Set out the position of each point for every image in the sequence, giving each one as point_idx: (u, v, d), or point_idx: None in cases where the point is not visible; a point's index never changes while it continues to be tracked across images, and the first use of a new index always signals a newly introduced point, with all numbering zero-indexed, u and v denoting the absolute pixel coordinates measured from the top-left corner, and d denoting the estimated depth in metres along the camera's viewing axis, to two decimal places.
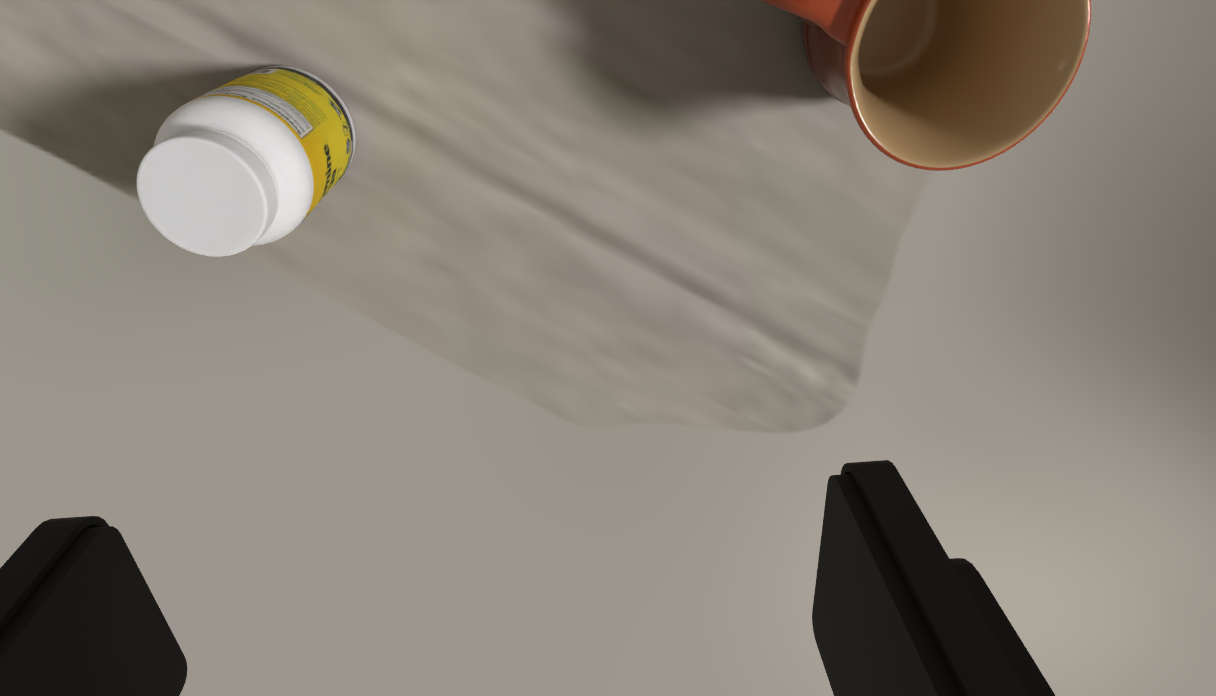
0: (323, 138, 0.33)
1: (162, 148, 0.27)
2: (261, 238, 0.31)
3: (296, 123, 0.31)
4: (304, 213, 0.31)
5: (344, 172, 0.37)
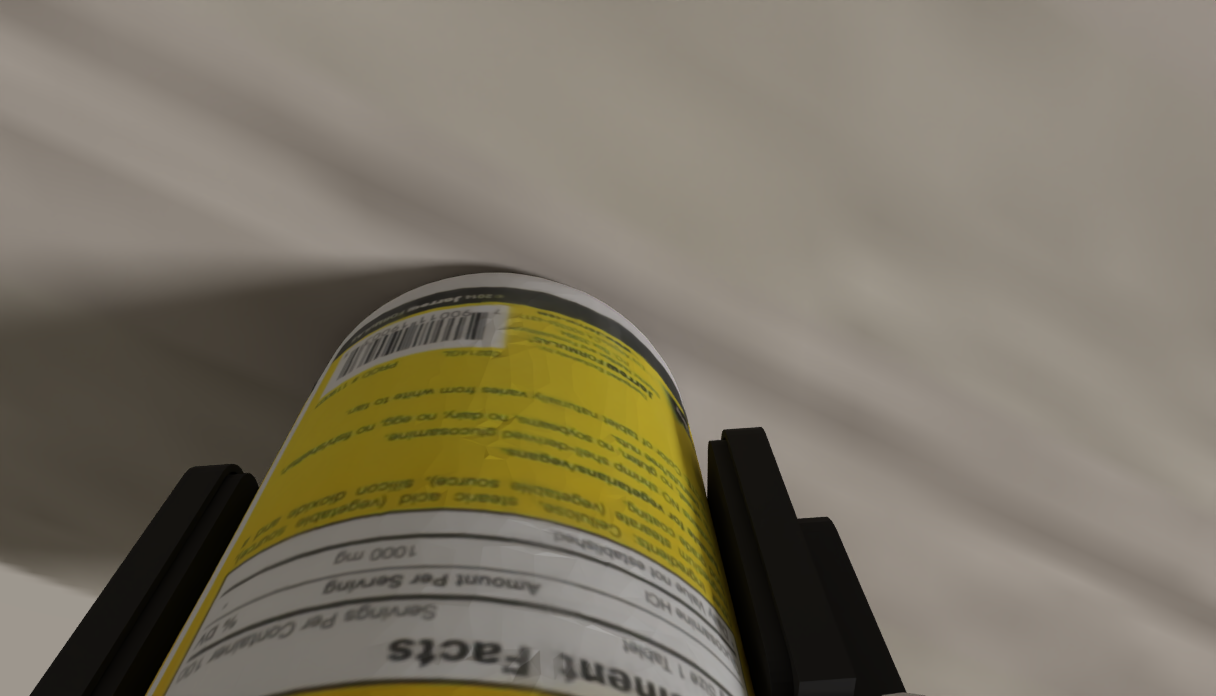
0: (740, 636, 0.08)
1: None
2: None
3: None
4: None
5: None
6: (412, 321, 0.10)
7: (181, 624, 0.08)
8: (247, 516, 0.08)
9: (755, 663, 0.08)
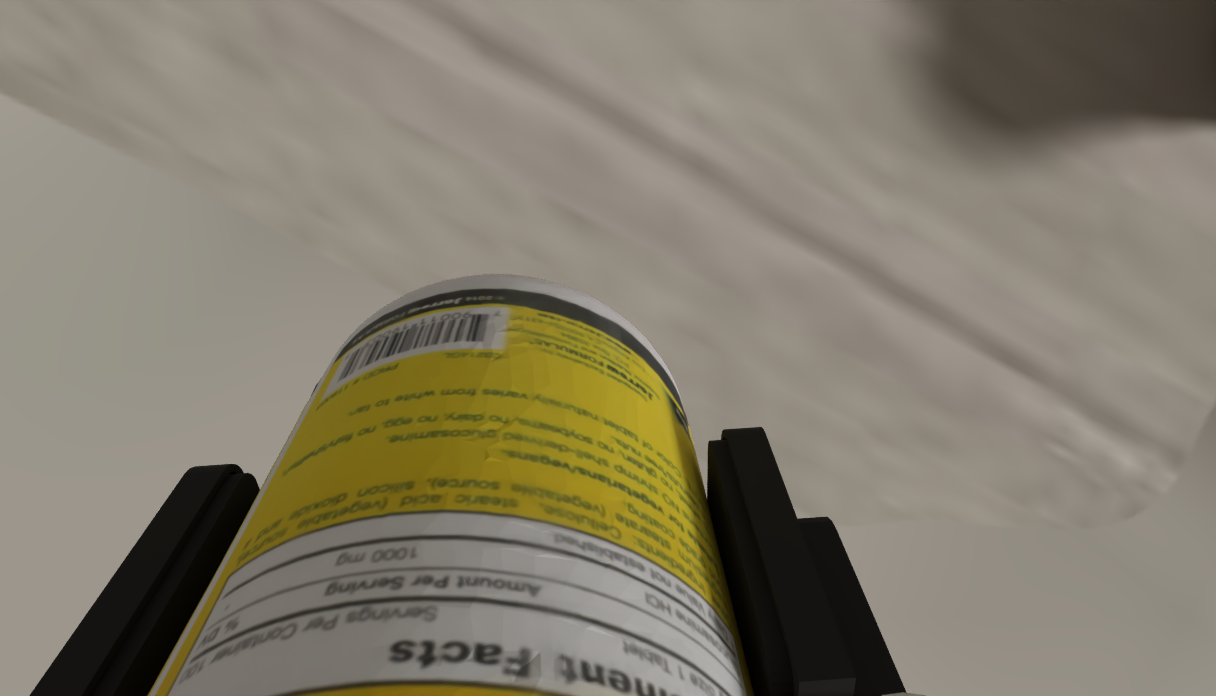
0: None
1: None
2: None
3: None
4: None
5: None
6: (413, 323, 0.10)
7: (181, 624, 0.08)
8: (249, 517, 0.08)
9: (755, 663, 0.08)
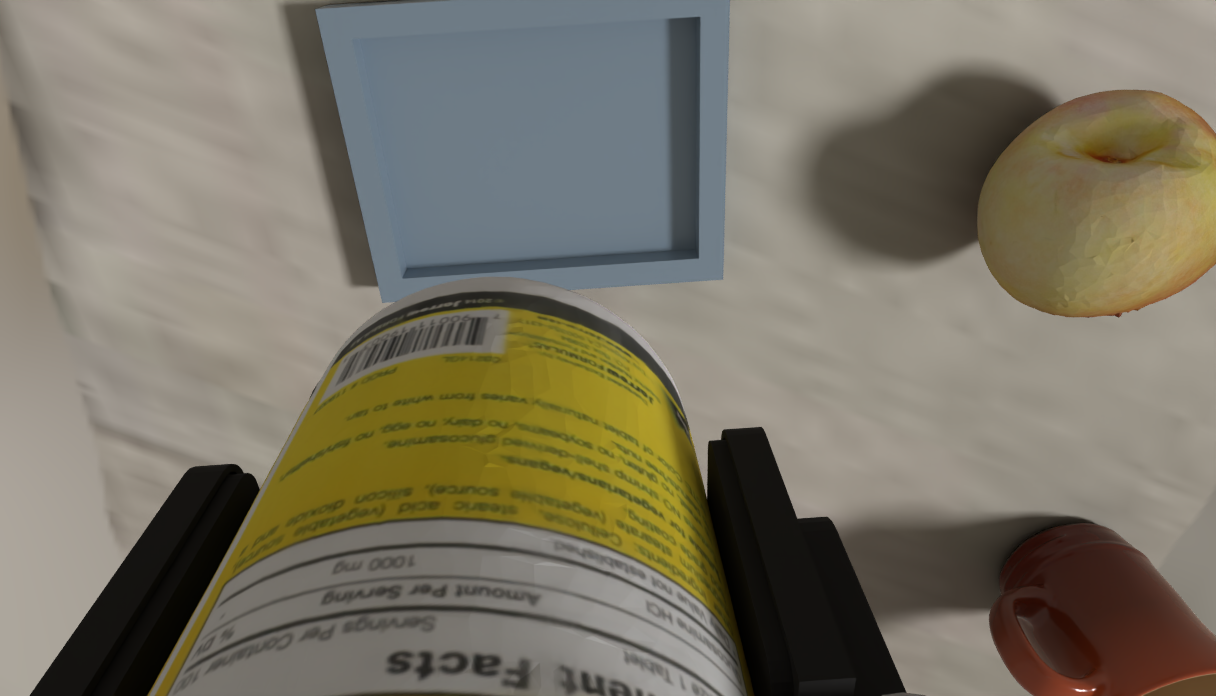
0: (741, 643, 0.08)
1: None
2: None
3: None
4: None
5: None
6: (411, 326, 0.10)
7: (181, 624, 0.08)
8: (245, 523, 0.08)
9: (755, 663, 0.08)
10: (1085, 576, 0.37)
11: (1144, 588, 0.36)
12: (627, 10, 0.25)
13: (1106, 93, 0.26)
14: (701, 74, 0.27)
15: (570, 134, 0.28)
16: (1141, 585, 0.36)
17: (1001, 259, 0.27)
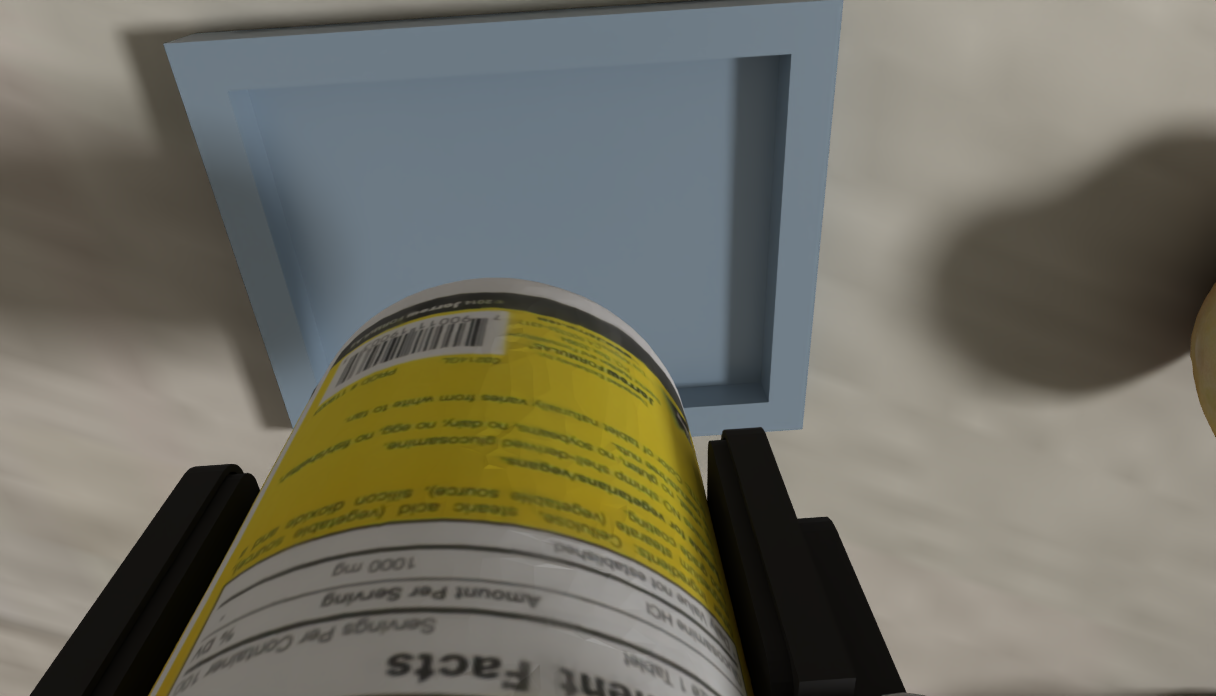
0: None
1: None
2: None
3: None
4: None
5: None
6: (411, 327, 0.10)
7: (181, 624, 0.08)
8: (245, 525, 0.08)
9: (755, 663, 0.08)
10: None
11: None
12: (673, 44, 0.16)
13: None
14: (788, 144, 0.17)
15: (579, 226, 0.19)
16: None
17: None
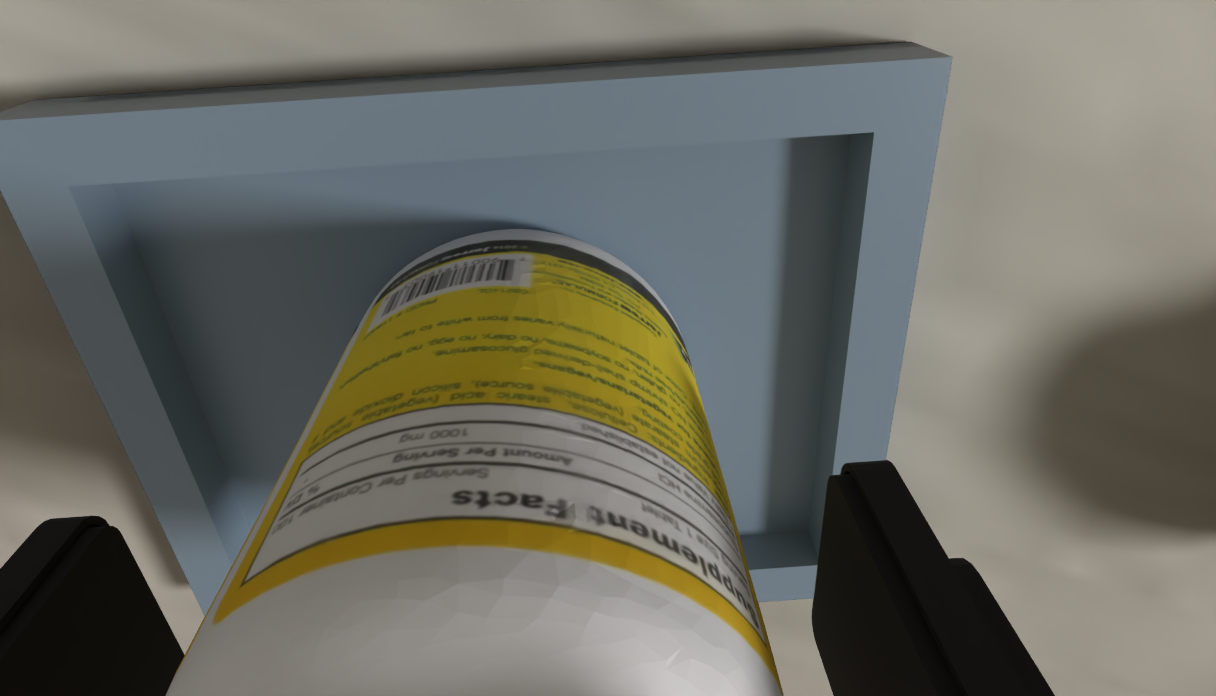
0: (738, 533, 0.09)
1: None
2: None
3: (731, 572, 0.07)
4: None
5: None
6: (447, 267, 0.11)
7: None
8: (310, 425, 0.09)
9: None
10: None
11: None
12: (707, 119, 0.11)
13: None
14: (862, 251, 0.12)
15: None
16: None
17: None
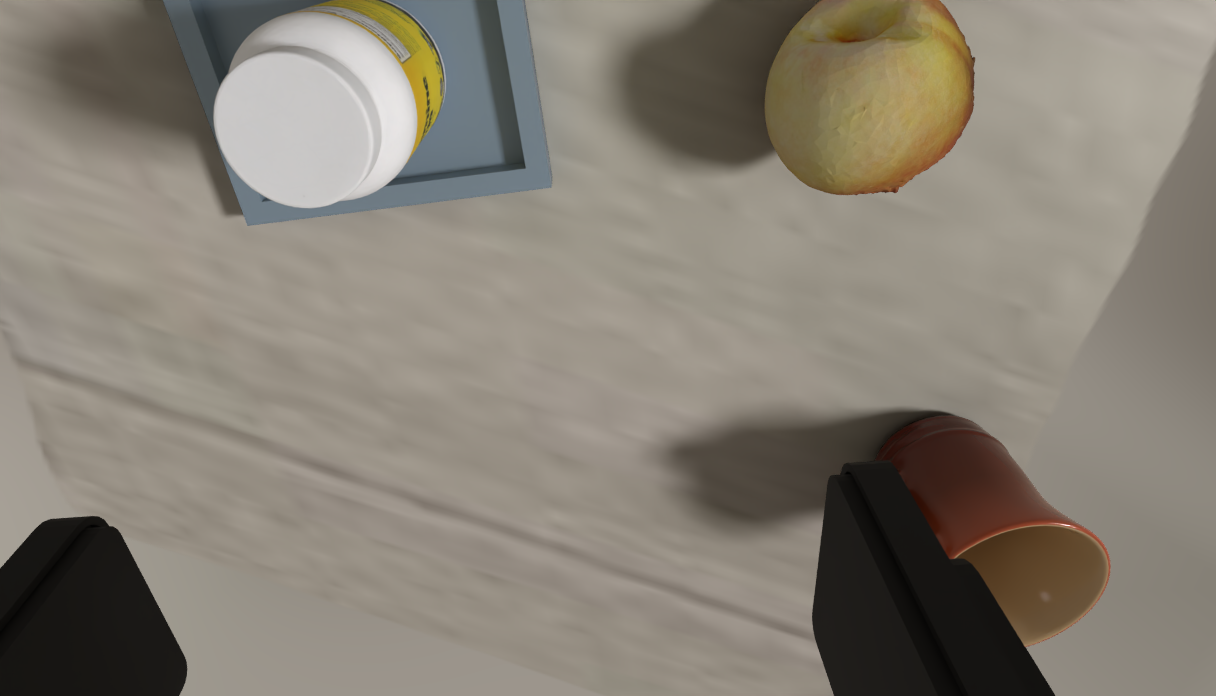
0: (421, 70, 0.27)
1: (245, 68, 0.21)
2: (357, 189, 0.26)
3: (394, 46, 0.25)
4: (407, 156, 0.26)
5: None
6: None
7: None
8: None
9: None
10: (933, 458, 0.39)
11: (984, 464, 0.38)
12: None
13: None
14: None
15: None
16: (982, 462, 0.38)
17: (777, 143, 0.30)
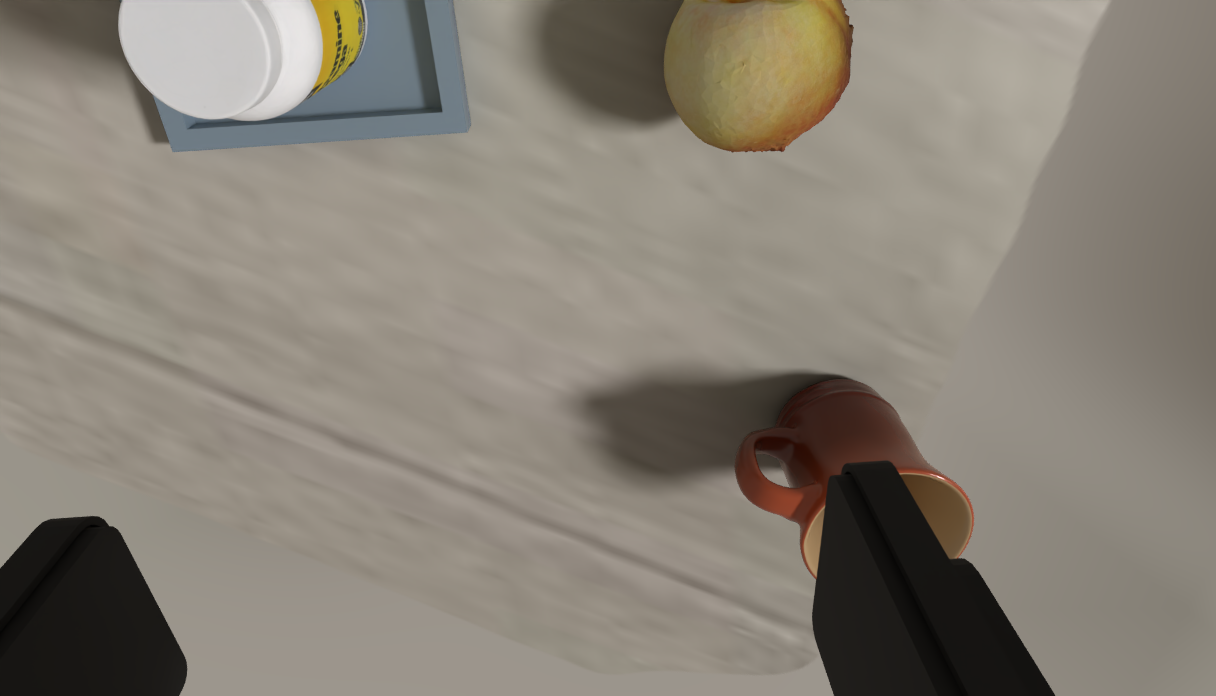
0: (333, 3, 0.29)
1: None
2: (263, 109, 0.27)
3: None
4: (312, 82, 0.27)
5: (355, 60, 0.33)
6: None
7: None
8: None
9: None
10: (825, 415, 0.42)
11: (869, 421, 0.40)
12: None
13: None
14: None
15: None
16: (868, 419, 0.41)
17: (672, 98, 0.32)
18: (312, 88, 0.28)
